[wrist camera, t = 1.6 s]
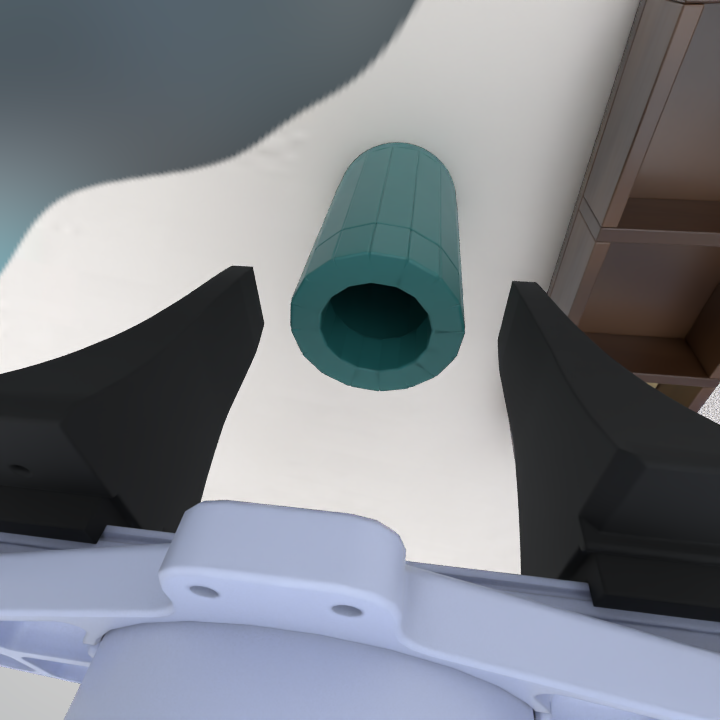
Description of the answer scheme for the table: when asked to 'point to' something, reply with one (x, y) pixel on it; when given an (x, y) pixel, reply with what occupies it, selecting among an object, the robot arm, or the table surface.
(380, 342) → the jar
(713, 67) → the rack
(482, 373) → the table surface
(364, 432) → the table surface
